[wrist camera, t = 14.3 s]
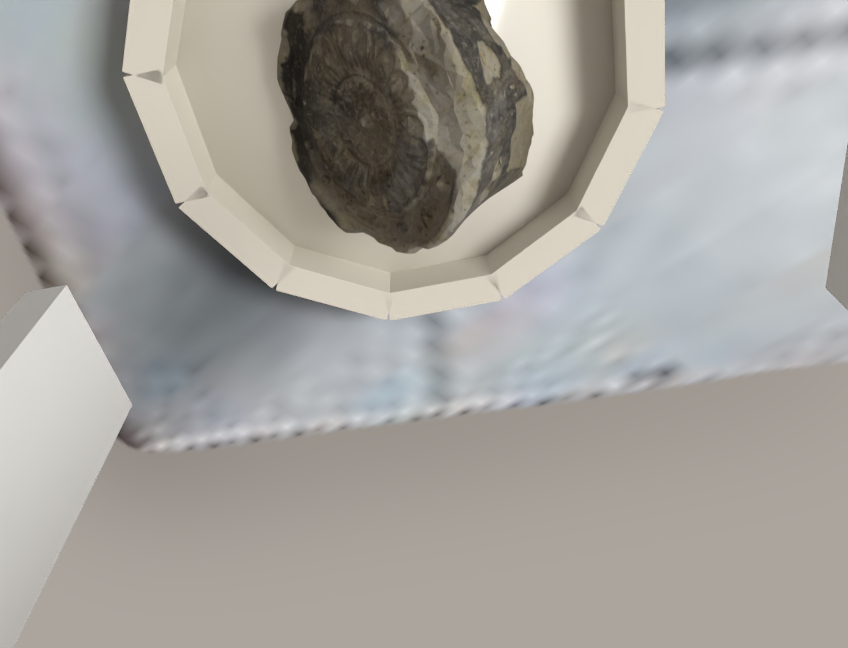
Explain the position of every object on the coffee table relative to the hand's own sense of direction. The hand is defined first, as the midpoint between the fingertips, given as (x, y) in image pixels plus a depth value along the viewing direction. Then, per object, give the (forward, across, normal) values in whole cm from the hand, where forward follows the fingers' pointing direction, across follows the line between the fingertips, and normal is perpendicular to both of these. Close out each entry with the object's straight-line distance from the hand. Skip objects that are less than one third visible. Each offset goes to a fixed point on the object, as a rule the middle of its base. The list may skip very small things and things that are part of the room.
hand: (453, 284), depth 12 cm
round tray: (+21, -1, -2) cm, 21 cm away
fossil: (+20, -1, -2) cm, 20 cm away
